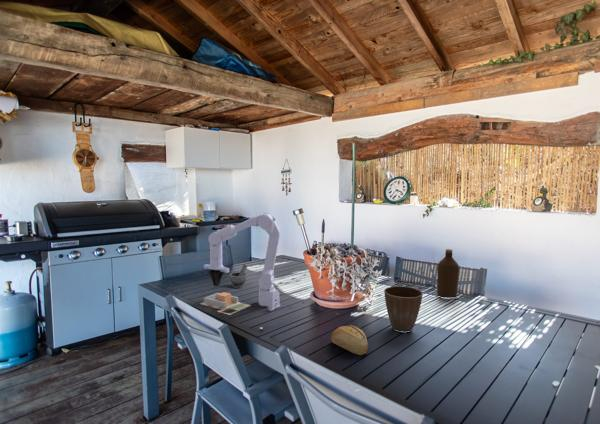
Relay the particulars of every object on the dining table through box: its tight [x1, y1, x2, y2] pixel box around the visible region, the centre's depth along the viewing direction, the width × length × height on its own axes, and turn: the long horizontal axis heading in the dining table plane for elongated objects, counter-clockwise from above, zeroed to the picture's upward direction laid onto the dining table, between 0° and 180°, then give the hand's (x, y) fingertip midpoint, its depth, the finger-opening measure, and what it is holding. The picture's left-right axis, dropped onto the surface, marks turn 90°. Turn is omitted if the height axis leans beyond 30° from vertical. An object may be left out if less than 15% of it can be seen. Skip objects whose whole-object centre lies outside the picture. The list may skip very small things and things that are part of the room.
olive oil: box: [436, 248, 460, 298], centre depth 193 cm, size 11×11×25 cm
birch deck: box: [199, 299, 252, 316], centre depth 173 cm, size 22×14×2 cm
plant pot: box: [383, 285, 424, 332], centre depth 150 cm, size 15×15×16 cm
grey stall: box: [203, 292, 239, 308], centre depth 176 cm, size 13×10×2 cm
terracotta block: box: [217, 291, 232, 305], centre depth 175 cm, size 4×4×4 cm
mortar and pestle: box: [228, 263, 249, 289], centre depth 207 cm, size 11×9×12 cm
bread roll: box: [330, 324, 369, 356], centre depth 134 cm, size 10×15×8 cm, turn 46°
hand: (216, 285), depth 177 cm, fingers closed
